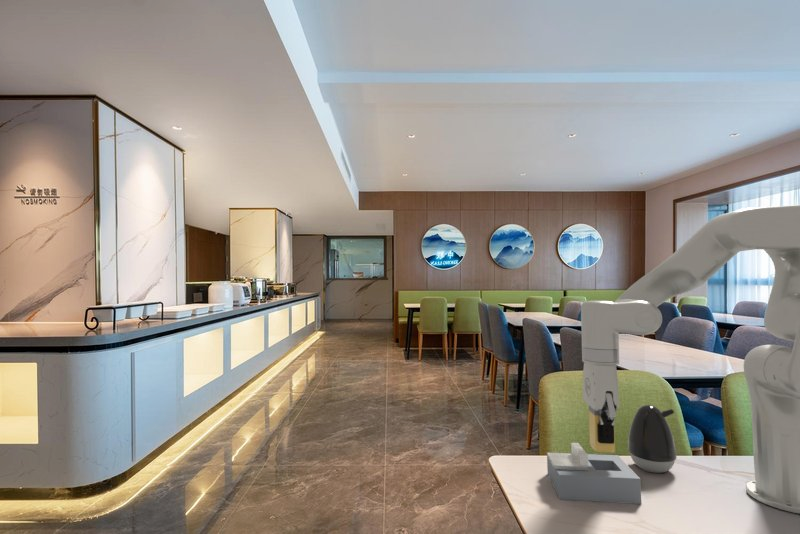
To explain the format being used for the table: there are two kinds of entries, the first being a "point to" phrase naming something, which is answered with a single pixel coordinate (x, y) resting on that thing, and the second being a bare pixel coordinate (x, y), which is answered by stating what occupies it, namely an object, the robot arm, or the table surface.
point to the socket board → (598, 481)
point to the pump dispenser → (652, 440)
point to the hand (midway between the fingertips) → (602, 438)
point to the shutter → (570, 459)
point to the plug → (594, 433)
